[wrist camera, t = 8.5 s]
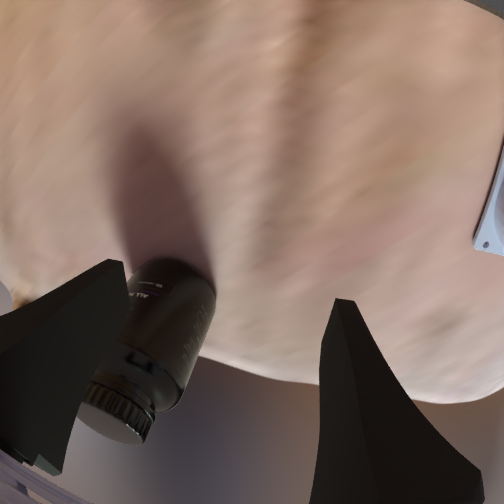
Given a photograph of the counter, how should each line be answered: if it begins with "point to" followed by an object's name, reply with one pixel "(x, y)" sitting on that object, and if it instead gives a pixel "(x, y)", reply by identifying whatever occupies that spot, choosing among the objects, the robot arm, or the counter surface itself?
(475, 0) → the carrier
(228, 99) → the counter surface
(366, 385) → the robot arm
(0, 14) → the counter surface
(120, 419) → the supplement bottle
